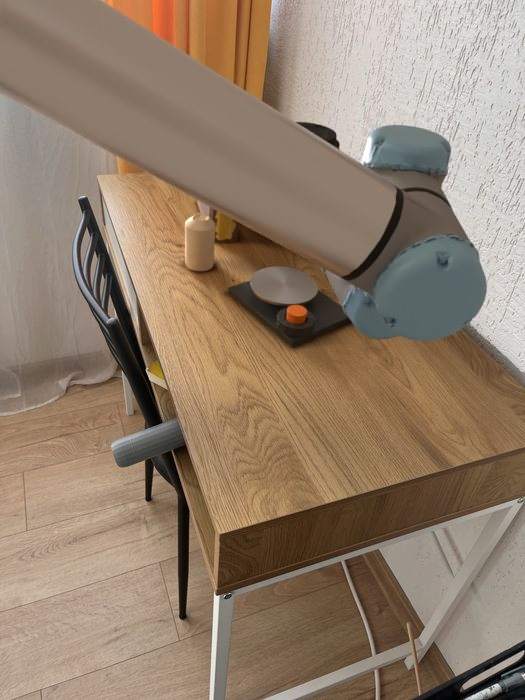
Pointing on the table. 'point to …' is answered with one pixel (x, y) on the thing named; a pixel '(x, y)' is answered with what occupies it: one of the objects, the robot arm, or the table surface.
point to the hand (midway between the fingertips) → (293, 168)
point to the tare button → (296, 314)
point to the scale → (318, 319)
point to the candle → (199, 242)
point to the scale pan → (283, 286)
